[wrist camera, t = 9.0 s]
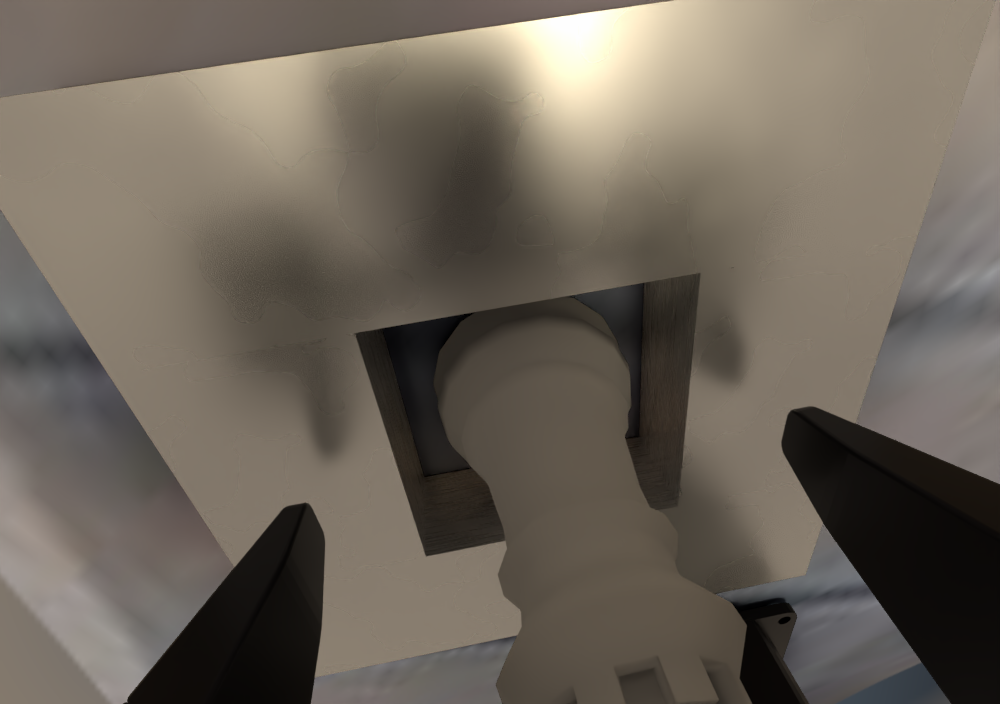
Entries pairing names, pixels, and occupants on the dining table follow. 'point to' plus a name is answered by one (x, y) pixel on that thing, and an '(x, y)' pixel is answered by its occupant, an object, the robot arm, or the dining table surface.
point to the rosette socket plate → (495, 265)
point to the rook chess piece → (579, 518)
